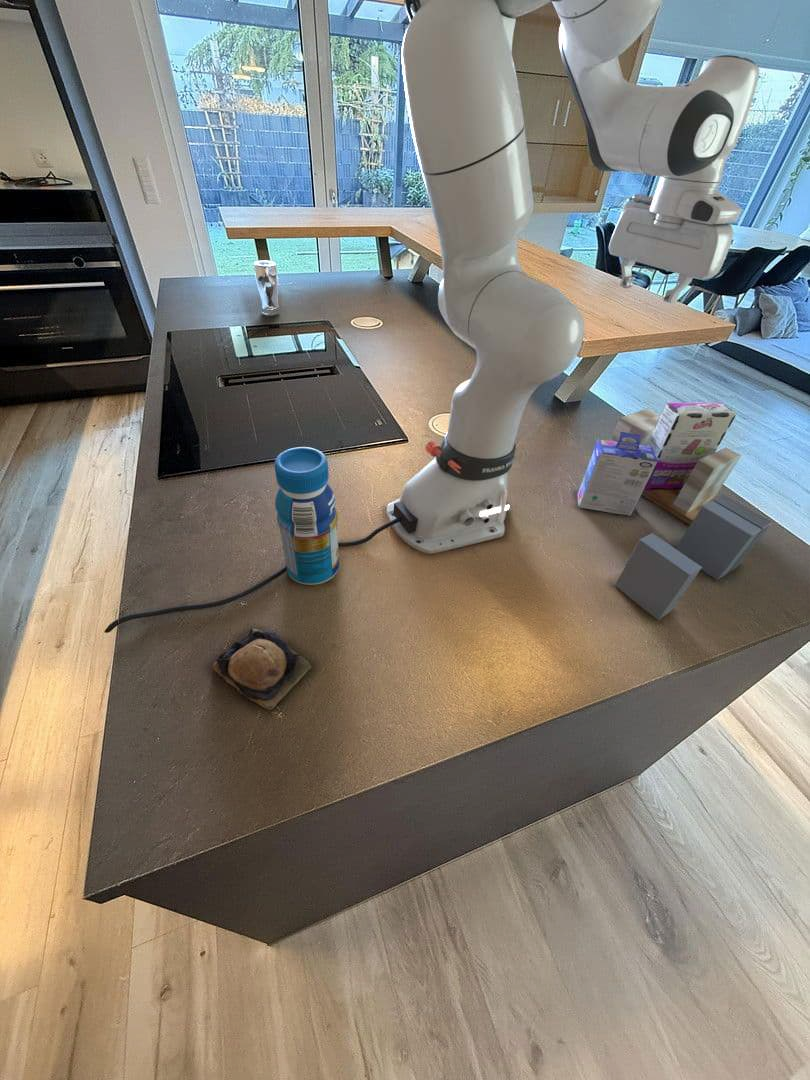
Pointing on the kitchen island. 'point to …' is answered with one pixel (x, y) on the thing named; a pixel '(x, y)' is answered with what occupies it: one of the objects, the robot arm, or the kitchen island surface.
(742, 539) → the grey blocks
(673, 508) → the wooden bookend rack
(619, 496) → the ink cartridge box
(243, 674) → the potato on dark dish
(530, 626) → the kitchen island surface
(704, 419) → the candy bar box
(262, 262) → the beer glass
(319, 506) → the beverage bottle
